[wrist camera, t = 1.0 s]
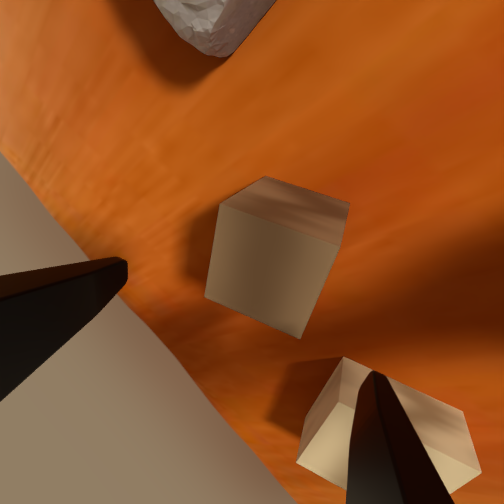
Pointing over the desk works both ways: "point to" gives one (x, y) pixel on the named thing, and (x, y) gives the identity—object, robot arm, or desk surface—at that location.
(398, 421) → the robot arm
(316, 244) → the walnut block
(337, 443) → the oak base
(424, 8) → the desk surface
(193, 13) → the stone block
